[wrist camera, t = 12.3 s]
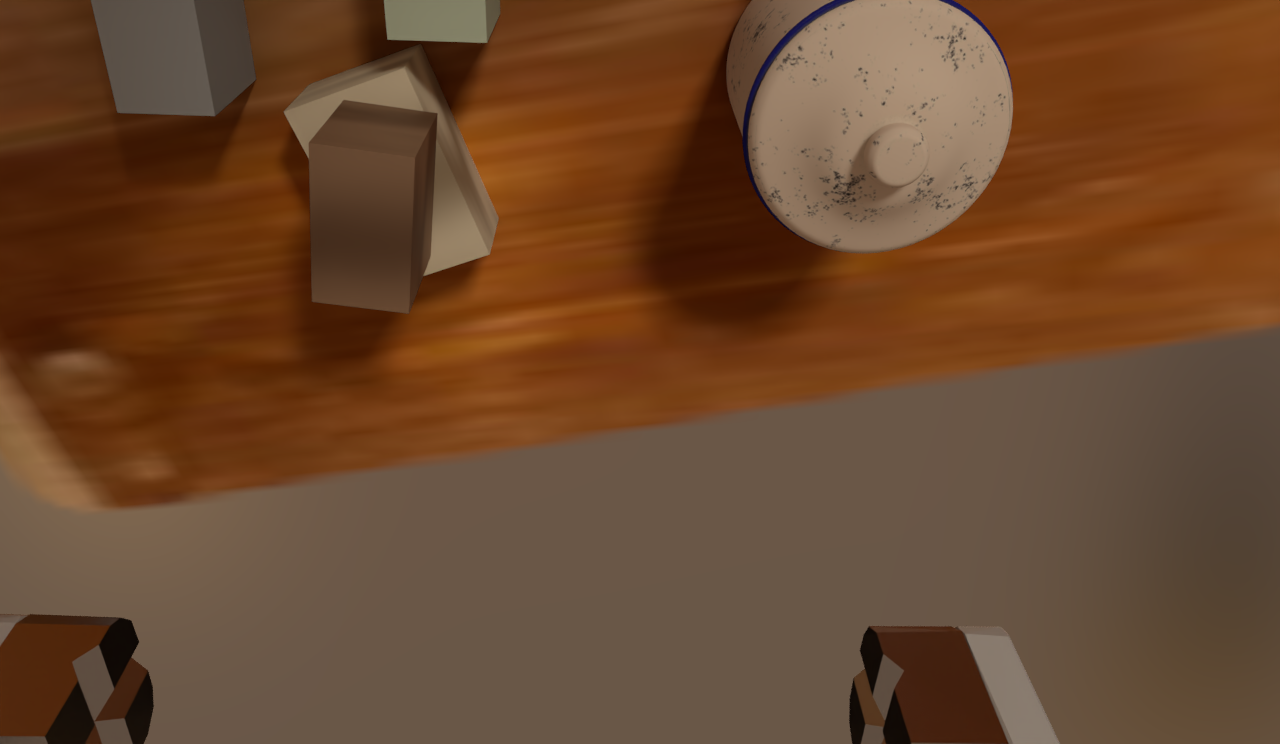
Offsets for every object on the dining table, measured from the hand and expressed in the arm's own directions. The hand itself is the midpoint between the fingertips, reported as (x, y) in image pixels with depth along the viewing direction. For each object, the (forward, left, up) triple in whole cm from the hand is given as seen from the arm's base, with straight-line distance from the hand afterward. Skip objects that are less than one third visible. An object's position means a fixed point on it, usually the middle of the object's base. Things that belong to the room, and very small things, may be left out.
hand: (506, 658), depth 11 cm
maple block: (+6, -7, -33) cm, 35 cm away
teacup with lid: (0, +10, -33) cm, 35 cm away
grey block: (0, -15, -33) cm, 36 cm away
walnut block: (+6, -7, -29) cm, 31 cm away
